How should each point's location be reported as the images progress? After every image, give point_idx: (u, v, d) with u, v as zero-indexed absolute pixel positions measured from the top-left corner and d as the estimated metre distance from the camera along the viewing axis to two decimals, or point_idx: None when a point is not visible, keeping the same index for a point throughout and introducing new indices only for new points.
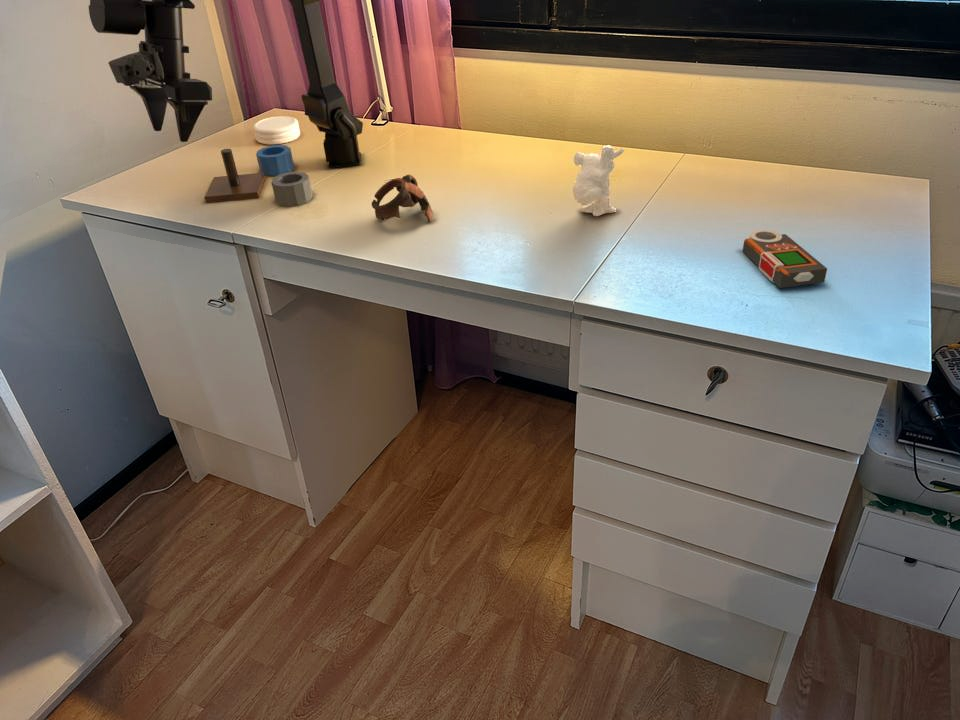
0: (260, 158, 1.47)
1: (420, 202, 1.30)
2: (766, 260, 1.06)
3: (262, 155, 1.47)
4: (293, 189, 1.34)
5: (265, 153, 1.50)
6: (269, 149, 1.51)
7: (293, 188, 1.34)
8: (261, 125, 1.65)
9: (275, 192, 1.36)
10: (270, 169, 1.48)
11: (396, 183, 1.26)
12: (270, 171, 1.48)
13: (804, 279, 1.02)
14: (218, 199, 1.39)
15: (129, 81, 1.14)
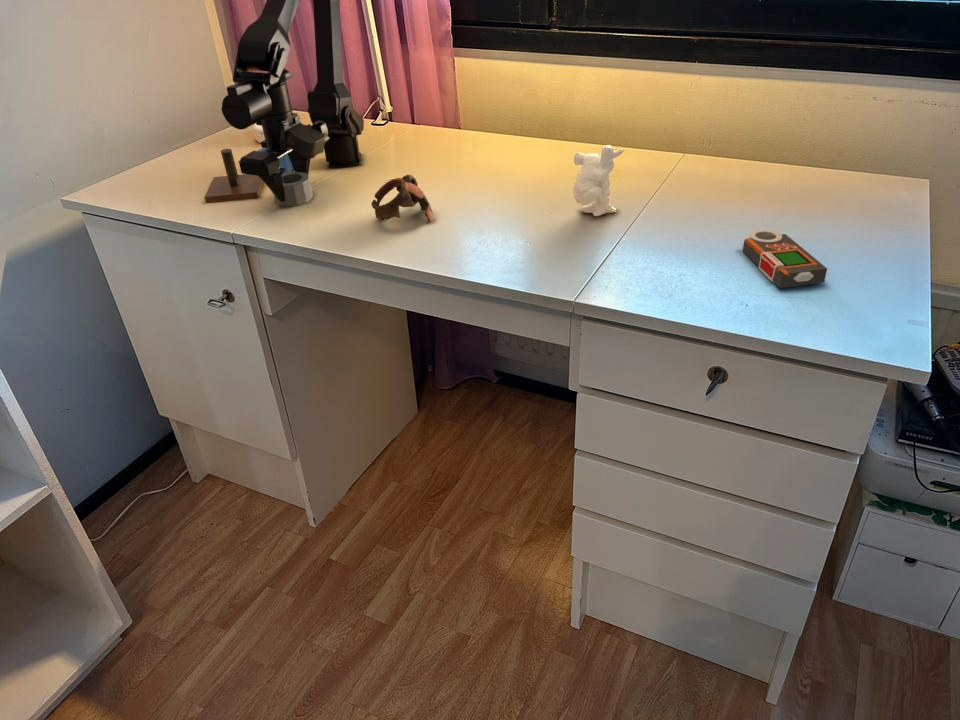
0: None
1: (420, 202, 1.30)
2: (766, 260, 1.06)
3: None
4: (293, 189, 1.34)
5: None
6: None
7: (293, 188, 1.34)
8: None
9: None
10: None
11: (396, 183, 1.26)
12: None
13: (804, 279, 1.02)
14: (218, 199, 1.39)
15: None
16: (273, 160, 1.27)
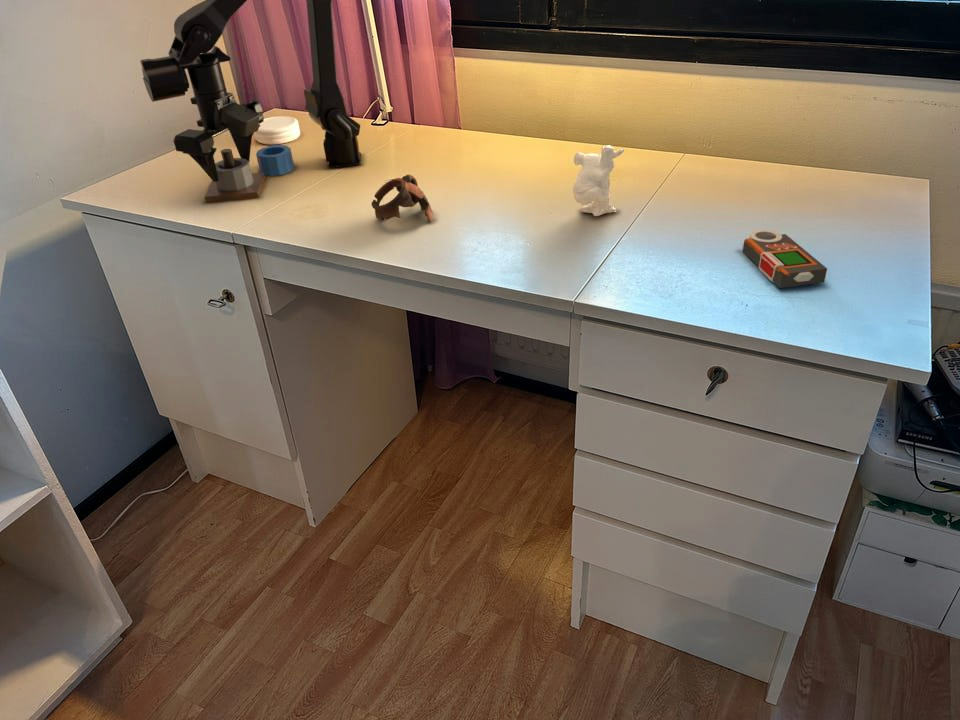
0: (260, 158, 1.47)
1: (420, 202, 1.30)
2: (766, 260, 1.06)
3: (262, 155, 1.47)
4: (232, 174, 1.39)
5: (265, 153, 1.50)
6: (269, 149, 1.51)
7: (232, 173, 1.39)
8: (261, 125, 1.65)
9: None
10: (270, 169, 1.48)
11: (396, 183, 1.26)
12: (270, 171, 1.48)
13: (804, 279, 1.02)
14: (218, 199, 1.39)
15: None
16: (206, 138, 1.30)
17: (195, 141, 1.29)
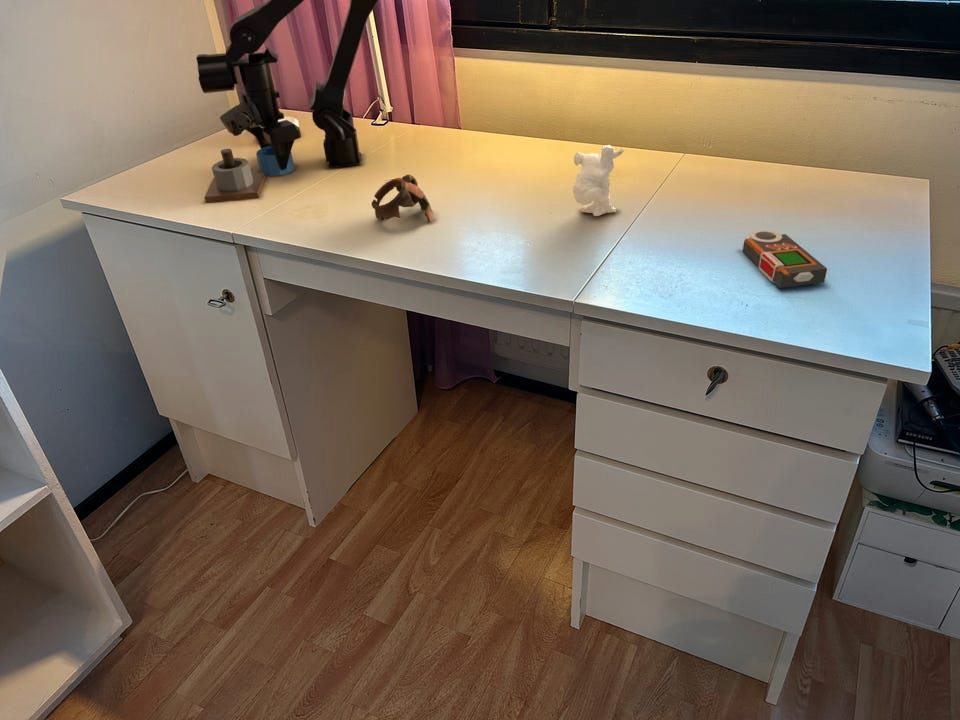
0: (260, 158, 1.47)
1: (420, 202, 1.30)
2: (766, 260, 1.06)
3: (262, 155, 1.47)
4: (232, 174, 1.39)
5: (265, 153, 1.50)
6: (269, 149, 1.51)
7: (232, 173, 1.39)
8: None
9: (215, 177, 1.40)
10: (270, 169, 1.48)
11: (396, 183, 1.26)
12: (270, 171, 1.48)
13: (804, 279, 1.02)
14: (218, 199, 1.39)
15: (236, 132, 1.41)
16: None
17: None
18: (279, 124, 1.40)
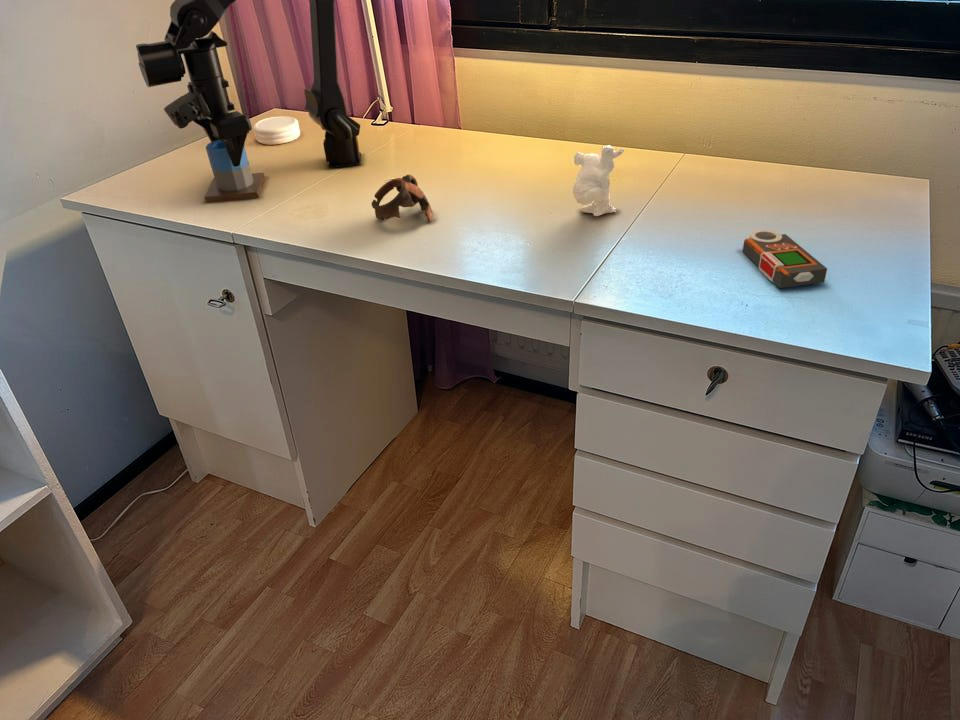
0: (210, 152, 1.36)
1: (420, 202, 1.30)
2: (766, 260, 1.06)
3: (212, 149, 1.37)
4: (232, 174, 1.39)
5: (216, 147, 1.40)
6: (221, 142, 1.40)
7: (232, 173, 1.39)
8: (261, 125, 1.65)
9: (215, 177, 1.40)
10: (221, 164, 1.37)
11: (396, 183, 1.26)
12: (221, 166, 1.37)
13: (804, 279, 1.02)
14: (218, 199, 1.39)
15: (181, 125, 1.30)
16: None
17: None
18: (228, 115, 1.30)
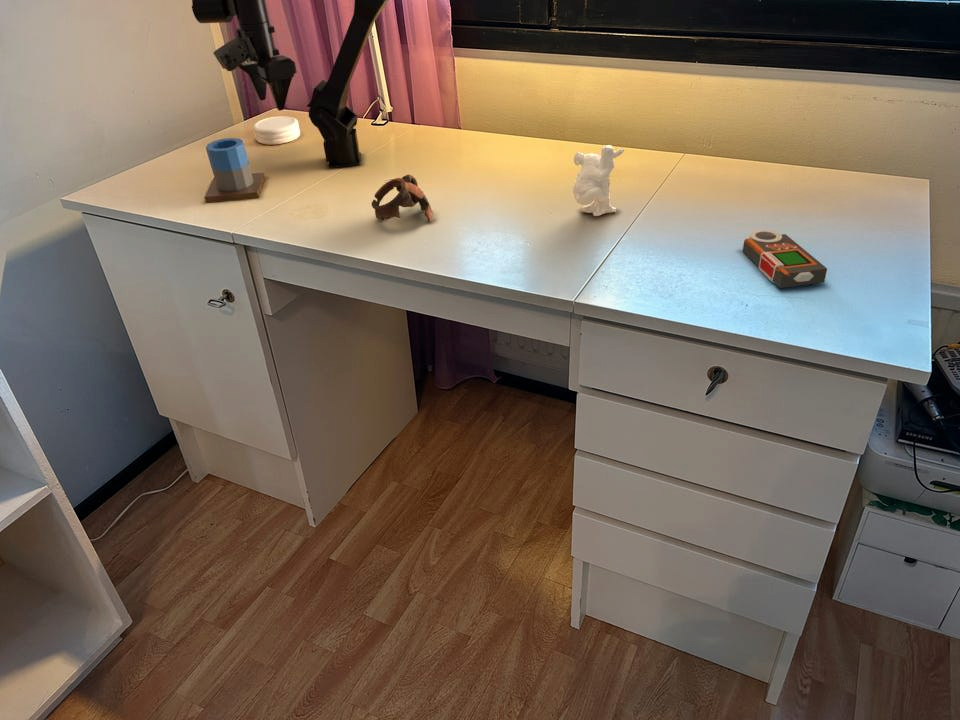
0: (210, 152, 1.36)
1: (420, 202, 1.30)
2: (766, 260, 1.06)
3: (212, 149, 1.37)
4: (232, 174, 1.39)
5: (216, 147, 1.40)
6: (221, 142, 1.40)
7: (232, 173, 1.39)
8: (261, 125, 1.65)
9: (215, 177, 1.40)
10: (221, 164, 1.37)
11: (396, 183, 1.26)
12: (221, 166, 1.37)
13: (804, 279, 1.02)
14: (218, 199, 1.39)
15: (230, 67, 1.38)
16: None
17: None
18: (274, 58, 1.37)
